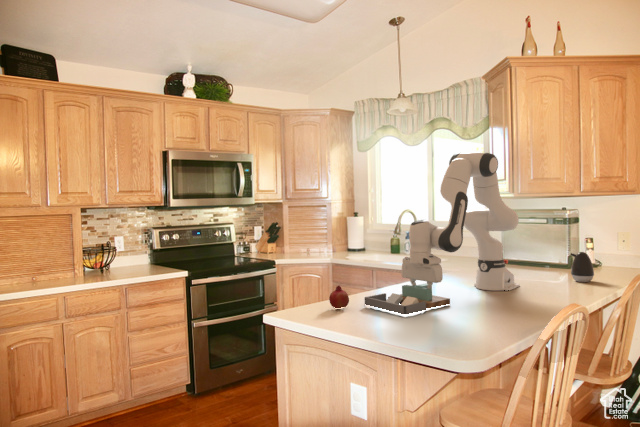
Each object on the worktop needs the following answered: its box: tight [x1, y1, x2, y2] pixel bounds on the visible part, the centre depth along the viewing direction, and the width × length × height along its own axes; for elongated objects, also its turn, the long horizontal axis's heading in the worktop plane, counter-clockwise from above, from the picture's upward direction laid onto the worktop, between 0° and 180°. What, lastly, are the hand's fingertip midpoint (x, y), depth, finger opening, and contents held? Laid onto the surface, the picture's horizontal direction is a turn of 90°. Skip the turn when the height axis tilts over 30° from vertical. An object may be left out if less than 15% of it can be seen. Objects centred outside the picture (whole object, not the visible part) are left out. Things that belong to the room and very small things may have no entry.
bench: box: [387, 293, 451, 308], centre depth 187 cm, size 16×20×3 cm
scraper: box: [401, 282, 433, 301], centre depth 188 cm, size 9×14×5 cm, turn 35°
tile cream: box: [401, 296, 419, 306], centre depth 178 cm, size 5×5×2 cm
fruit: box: [328, 285, 350, 309], centre depth 183 cm, size 8×8×10 cm
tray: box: [364, 292, 426, 314], centre depth 179 cm, size 12×23×4 cm, turn 35°
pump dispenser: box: [569, 251, 595, 283], centre depth 226 cm, size 10×10×15 cm
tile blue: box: [386, 293, 403, 304], centre depth 185 cm, size 5×5×2 cm
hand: (421, 290), depth 188 cm, fingers open, 6 cm apart
